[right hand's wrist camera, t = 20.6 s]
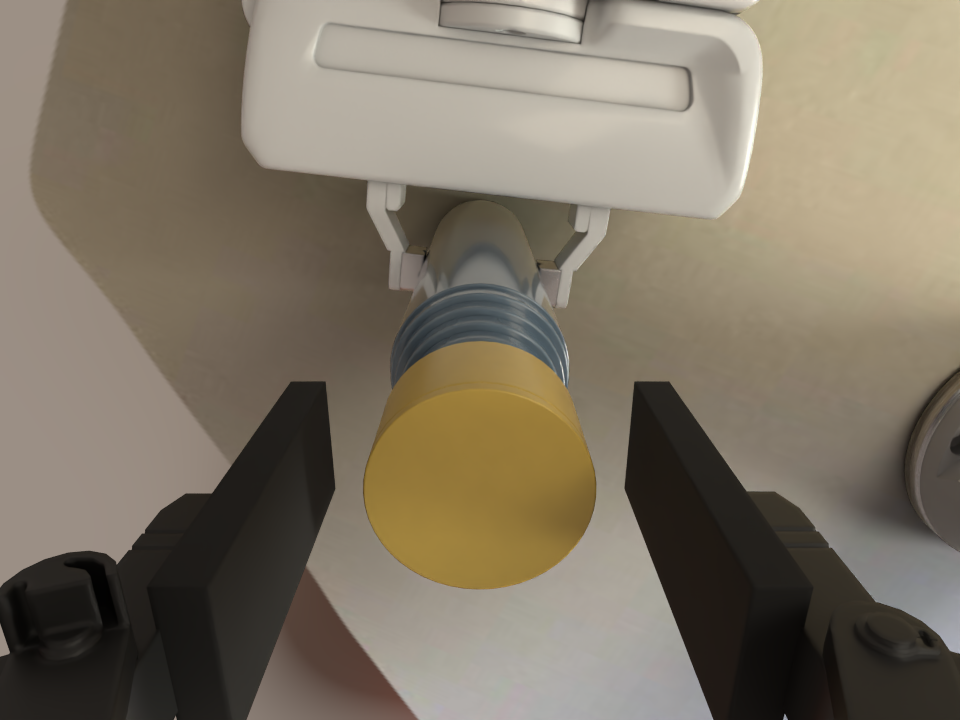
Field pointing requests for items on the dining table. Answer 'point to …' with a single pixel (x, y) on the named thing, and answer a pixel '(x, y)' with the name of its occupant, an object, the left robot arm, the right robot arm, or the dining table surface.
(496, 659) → the dining table surface
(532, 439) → the cap
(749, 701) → the right robot arm
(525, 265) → the bottle
